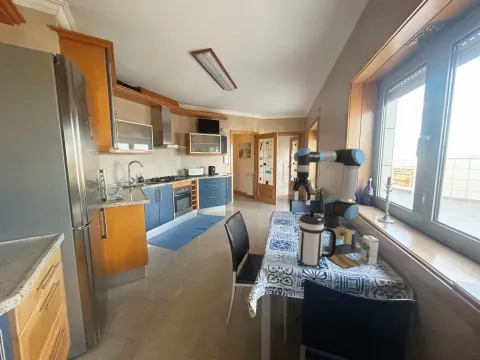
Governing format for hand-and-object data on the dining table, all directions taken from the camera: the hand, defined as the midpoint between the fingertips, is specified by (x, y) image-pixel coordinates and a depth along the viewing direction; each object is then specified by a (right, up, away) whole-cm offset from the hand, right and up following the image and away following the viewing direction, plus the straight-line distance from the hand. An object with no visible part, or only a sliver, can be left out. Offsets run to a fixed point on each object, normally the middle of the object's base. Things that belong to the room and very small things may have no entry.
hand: (301, 202), depth 139 cm
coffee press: (-3, -31, -27) cm, 41 cm away
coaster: (+16, -30, -25) cm, 42 cm away
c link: (+22, -23, -12) cm, 34 cm away
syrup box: (+29, -31, -25) cm, 50 cm away
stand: (+22, -29, -11) cm, 38 cm away
